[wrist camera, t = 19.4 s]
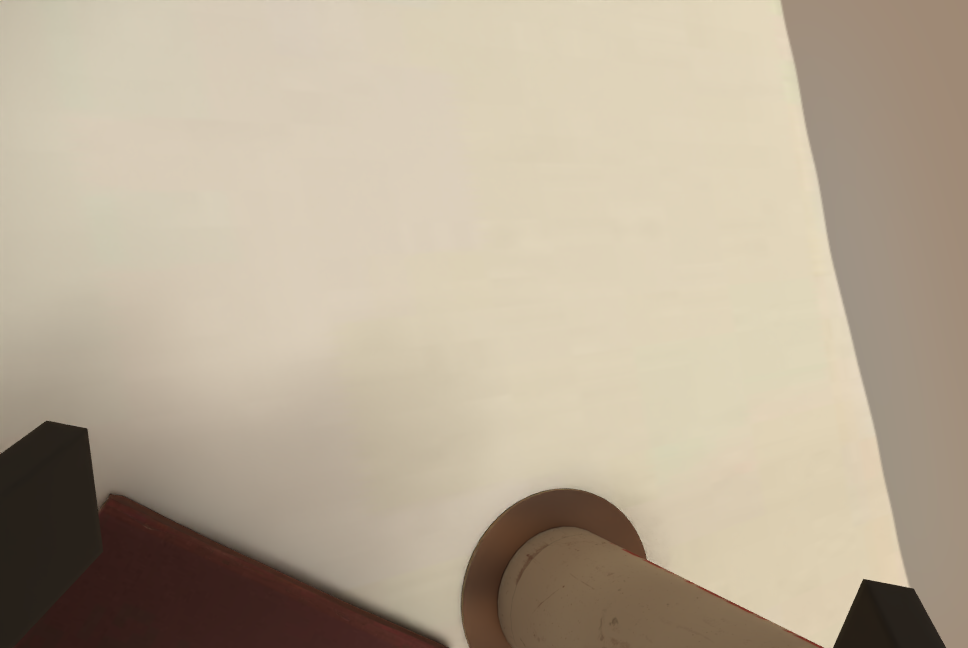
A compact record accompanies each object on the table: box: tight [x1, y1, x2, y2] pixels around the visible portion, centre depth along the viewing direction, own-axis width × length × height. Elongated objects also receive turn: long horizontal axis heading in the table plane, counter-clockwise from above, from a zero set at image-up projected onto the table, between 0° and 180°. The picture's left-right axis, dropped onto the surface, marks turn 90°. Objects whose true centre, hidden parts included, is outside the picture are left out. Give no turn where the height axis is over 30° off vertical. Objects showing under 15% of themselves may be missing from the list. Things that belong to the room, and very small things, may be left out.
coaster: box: [461, 489, 647, 648], centre depth 41 cm, size 12×12×1 cm
